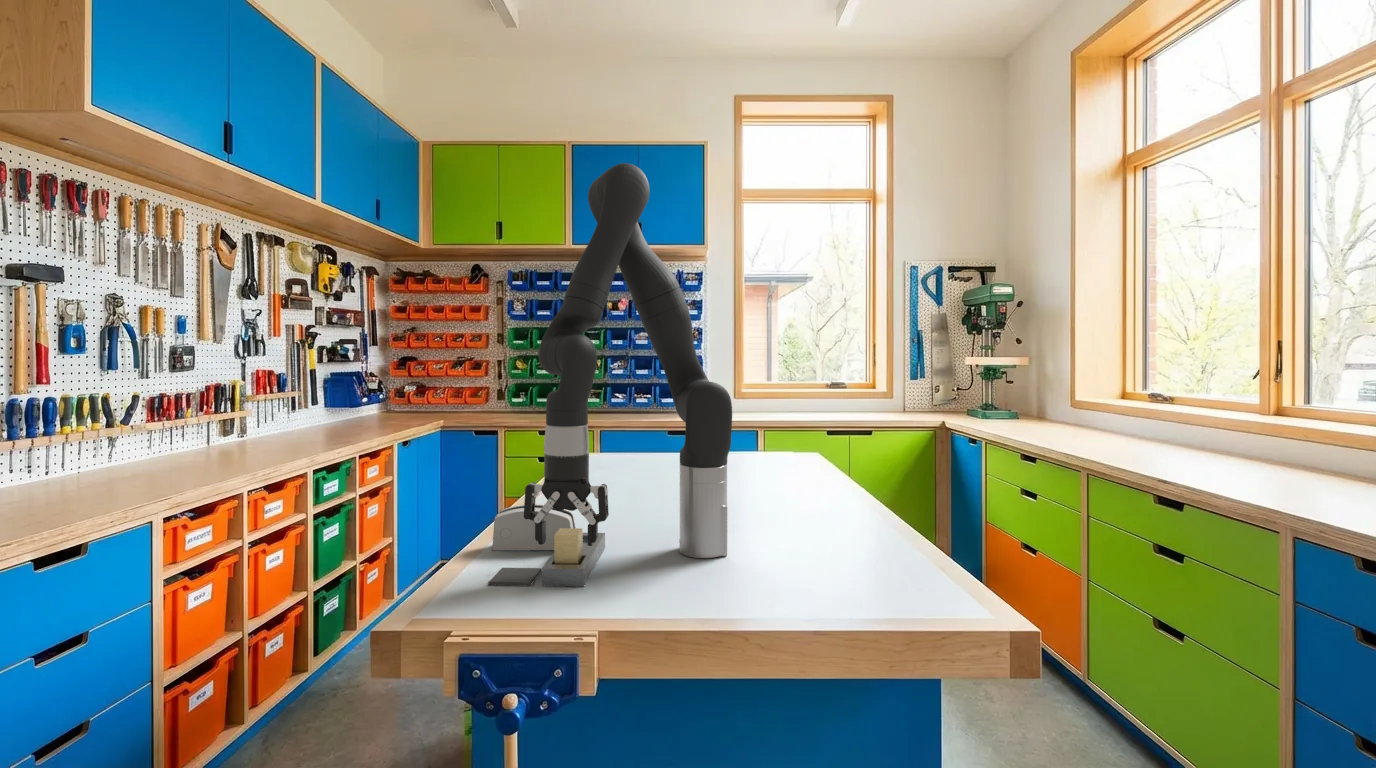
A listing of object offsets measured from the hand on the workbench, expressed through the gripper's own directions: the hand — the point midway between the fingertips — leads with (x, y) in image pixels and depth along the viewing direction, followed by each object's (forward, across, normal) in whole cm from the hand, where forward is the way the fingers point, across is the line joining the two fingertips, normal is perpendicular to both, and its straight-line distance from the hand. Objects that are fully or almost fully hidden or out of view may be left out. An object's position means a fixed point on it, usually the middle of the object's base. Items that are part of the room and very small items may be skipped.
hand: (566, 544), depth 110 cm
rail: (+6, 0, -6) cm, 8 cm away
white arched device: (+6, +10, -15) cm, 19 cm away
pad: (+6, +8, +1) cm, 10 cm away
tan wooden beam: (+6, -1, 0) cm, 6 cm away
